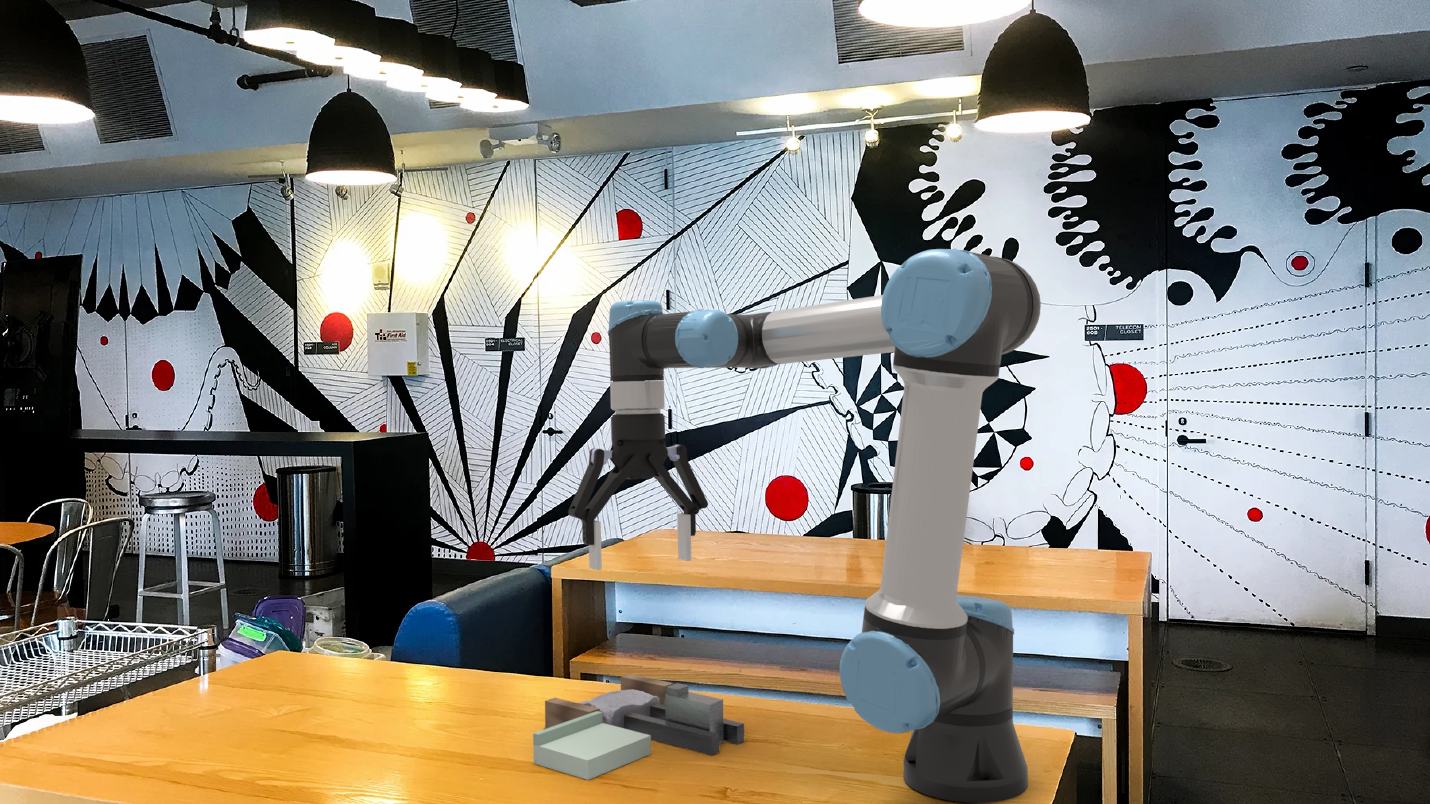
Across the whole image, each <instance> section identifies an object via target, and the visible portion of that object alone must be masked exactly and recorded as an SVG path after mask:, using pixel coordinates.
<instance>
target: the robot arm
mask: <svg viewBox="0 0 1430 804" xmlns="http://www.w3.org/2000/svg"><path fill="white" fill-rule="evenodd" d="M1041 305H1042V302H1041V295H1040V293H1039V289H1038V286H1037V284H1036V283H1035V281H1034V279H1033V277H1032V276H1031V275H1030V274H1029V273H1028V272H1027V271H1026V269H1024V268H1023V267H1022V266H1020V265H1019V264H1018V263H1016V262H1015V261H1011V260H1010V259H1008V258H1007V259H1006V258H1003V257H999V256H992V255H987V254H982V253H976V252H973V251H968V250H964V249H959V248H958V249H957V248H951V249H950V248H949V249H948V248H946V249H945V248H936V249H927V250H924V251H921V252H919V253H916V254H914V255H912V256H910V257H909V258H907V260H904V262H903V263H902V264H901V265H899V266H898V267H897V268H896V269H895V270H894V272H893V273H892V275H891V276H890V277H889V280H888V281H887V283H886V285H885V288H884V290H883V293H882V294H881V295H875V296H866V297H861V298H860V297H859V298H854V299H847V300H839V301H834V302H826V303H819V304H813V305H807V306H800V307H794V308H793V307H792V308H787V309H781V310H773V311H767V312H766V311H765V312H759V313H751V314H733V313H726V312H724V311H722V310H719V309H702V308H700V309H695V310H694V311H693V310H691V311H682V312H674V313H673V312H671V313H664V312H663V305H662V303H660V302H659V301H657V300H641V299H640V300H639V299H638V300H621V301H616V302H614V303H612V305H611V306H610V308H609V316H608V317H609V318H608V320H609V321H608V331H607V336H608V343H609V344H608V345H609V347H608V348H609V369H610V370H609V374H610V377H609V378H610V379H609V382H610V383H609V384H610V386H609V387H610V388H609V389H610V409H611V410H612V411H614V412H615V413H614V414H612V415H611V416H610V434H611V435H610V437H611V447H610V449H609V450H608V449H607V450H606V449H602V448H597V447H596V448H595V447H594V448H593V447H592V448H591V449H590V450H589V457H588V458H589V459H588V466H587V468H586V469H585V472H584V474H583V477H582V478H581V481H580V483H579V485H578V489H577V490H576V493H575V495H574V497H573V499H572V502H571V504H570V506H569V509H568V510H567V514H568V515H569V516H570V517H572V518H575V519H578V520H580V521H581V527H582V530H581V531H582V532H581V533H582V543H583V545H584V546H585V545H586V546H588V562H589V563H588V564H589V566H588V567H589V568H590V569H592V570H595V571H599V570H601V571H602V569H603V568H602V526H601V525H602V523H601V521H598V520H596V519H597V517H598V516H599V514H600V513H601V511H603V509H604V508H605V506H606V505H607V503H608V502H609V500H610V499H611V498H612V497H613V495H614V494H615V492H617V490H618V488H619V487H620V486H621V485H622V484H623V483H624V482H625V481H626V480H638V479H648V480H650V479H653V478H654V479H655V480H657V482H658V483H659V484H660V485H661V486H662V487H663V489H664V490H665V491H666V493H667V494H668V495H669V496H670V497H671V499H672V500H673V501H674V502H675V503H676V505H677V506H678V507H679V508H680V509H681V511H682V512H679V513H677V515H676V516H677V553H678V554H677V557H678V560H681V561H682V560H683V561H685V562H688V561H689V562H691V561H692V537H694V536H696V532H697V526H696V525H697V524H696V523H697V522H696V520H697V519H696V515H698V514H699V512H700V511H701V510H702V509H706V508H707V507H708V506H709V502H708V499H707V498H706V496H705V494H704V492H703V489H702V487H701V485H700V484H699V481H698V479H697V477H696V474H695V473H694V470H693V469H692V466H691V465H690V462H689V461H688V453H687V447H686V445H684V444H673V445H671V446H669V447H667V446H666V444H665V443H666V442H665V441H666V440H665V439H666V418H665V417H666V416H665V415H664V413H661V410H664V408H665V407H666V406H665V381H664V380H665V369H691V368H692V369H693V368H694V369H695V368H696V369H697V368H698V369H711V368H712V369H713V368H714V369H715V368H717V369H718V368H720V369H721V368H724V369H725V368H726V369H727V368H728V369H729V368H741V369H743V368H751V369H755V370H756V369H768V368H773V367H776V366H777V365H784V364H785V365H786V364H792V363H793V364H795V363H803V362H814V361H815V362H816V361H822V360H831V359H841V358H842V359H843V358H851V357H860V356H868V355H869V356H870V355H880V354H886V353H887V354H888V353H889V354H890V353H894V354H893V361H892V362H893V363H892V365H893V366H892V367H893V369H894V371H895V372H896V374H898V375H899V377H900V378H901V379H902V381H903V384H904V385H903V386H904V387H903V394H902V403H901V413H900V419H899V420H900V422H899V427H898V428H899V429H898V436H897V437H898V438H897V445H896V446H897V447H896V454H895V463H894V471H893V480H892V489H891V495H890V496H891V497H890V503H889V504H890V505H889V511H888V512H889V514H888V523H887V531H886V537H885V538H886V539H885V547H884V555H883V563H882V573H881V579H880V580H881V581H880V588H879V589H878V590H877V591H875V592H874V593H873V594H871V596H869V597H867V598H866V600H865V603H864V609H863V611H864V612H863V618H862V625H861V626H862V627H861V632H860V633H858V634H857V635H856V636H854V637H853V638H852V639H850V641H849V642H848V644H847V645H846V646H845V648H844V649H843V652H842V654H841V658H840V661H839V678H840V684H841V688H842V691H843V692H844V695H845V697H846V700H847V702H849V703H850V704H851V705H852V706H853V709H854V711H855V713H856V714H857V715H858V716H859V717H860V718H861V719H862V720H863V721H865V722H866V723H867V724H869V726H871V727H873V728H875V729H878V730H879V731H883V732H885V733H890V734H904V733H909V732H911V734H910V738H909V741H908V744H907V747H906V751H905V753H904V757H903V761H902V762H903V768H902V769H903V780H904V782H905V783H906V784H907V785H908V786H909V788H910V787H911V788H912V789H913V790H915V791H916V792H919V793H922V794H924V795H926V796H929V797H933V798H936V799H939V800H945V801H951V802H958V803H967V804H968V803H971V804H973V803H974V804H975V803H976V804H983V803H984V804H985V803H996V802H997V803H999V802H1003V801H1008V800H1011V799H1015V798H1017V797H1019V796H1021V795H1022V794H1024V793H1025V792H1026V791H1027V789H1028V786H1029V785H1028V784H1029V780H1028V779H1029V777H1028V775H1029V771H1028V764H1027V761H1026V758H1025V754H1024V752H1023V748H1022V746H1021V743H1020V740H1019V737H1018V734H1017V731H1016V727H1015V725H1014V715H1013V714H1014V712H1013V711H1014V710H1013V709H1014V708H1013V707H1014V706H1013V705H1014V685H1013V684H1014V635H1015V628H1014V627H1013V613H1012V609H1011V608H1010V606H1009V605H1008V604H1006V603H1005V602H1003V601H1001V600H997V599H994V598H988V597H981V596H971V595H962V594H958V586H959V579H960V572H961V564H962V556H963V549H964V540H965V533H966V525H967V524H966V523H967V515H968V509H969V502H970V501H969V500H970V492H971V487H972V486H971V485H972V477H973V472H974V471H973V469H974V468H973V467H974V464H975V461H974V460H975V454H976V447H977V445H976V444H977V439H978V437H977V436H978V432H979V431H978V430H979V424H980V423H979V421H980V416H981V415H980V414H981V407H982V400H983V392H984V391H985V390H986V389H988V387H990V386H991V385H993V384H994V383H995V382H996V381H997V380H999V376H1000V368H1001V361H1002V355H1005V354H1008V353H1011V352H1013V351H1015V350H1017V349H1018V348H1019V347H1021V346H1023V344H1025V343H1026V341H1027V340H1028V339H1030V337H1031V336H1032V335H1033V333H1034V331H1035V330H1036V327H1037V325H1038V323H1039V320H1040V316H1041V308H1042V307H1041ZM667 458H669V460H670V461H672V462H673V466H674V467H675V470H676V472H677V474H678V476H679V478H680V480H681V482H682V484H683V486H684V488H685V490H686V492H687V494H686V493H685V491H684V490H683V488H681V487H680V485H679V484H678V483H677V482H676V481H675V479H674V478H673V476H672V475H671V472H670V471H669V470H668V469H667V468H666V466H664V462H665V461H666V459H667ZM608 460H610V461H611V463H612V464H613V466H614V467H613V468H612V469H611V471H610V472H609V473H608V475H607V478H606V479H605V481H604V482H603V484H602V485H601V486H600V487H599V489H598V490H597V492H596V493H595V494H594V496H593V497H592V499H591V496H592V494H593V492H594V489H595V487H596V485H597V483H598V480H599V479H600V475H601V473H602V470H603V468H604V466H605V465H606V464H607V463H608Z"/></svg>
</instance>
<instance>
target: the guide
mask: <svg viewBox="0 0 1430 804" xmlns="http://www.w3.org/2000/svg"><path fill="white" fill-rule="evenodd" d="M624 729H628V730H632V731H636V732H639V733H643V734H647V735H651V741H654V742H655V741H656V742H658V743H659V742H660V743H663V744H667V745H671V746H674V747H678V748H682V749H685V750H689V751H694V752H697V753H701V754H705V755H707V756H708V755H709V756H714V755H717V754H718V753H720V744H719V734H718V733H714V732H709V731H705V730H701V729H697V728H693V727H689V726H685V725H681V724H677V723H673V722H669V721H665V705H663V704H659V703H656V704H653V705H651V706H650V717H648V716H644V715H640V714H636V713H632V712H631V713H629V714H626V715H624ZM723 733H724V742H726V743H730V744H734V745H739V744H742V743H743V742H745V723H743V722H739V721H736V720H731V719H726V718H723Z"/></svg>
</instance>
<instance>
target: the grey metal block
mask: <svg viewBox="0 0 1430 804" xmlns="http://www.w3.org/2000/svg"><path fill="white" fill-rule="evenodd" d="M723 719H724V699H722V698H718V697H713V696H709V695H705V694H700V693H696V692H690V691H689V685H687V684H682V683H678V682H677V683H673V685H671V686H668V687H667V694H666V695H665V721H669V722H673V723H677V724H681V725H685V726H689V727H693V728H697V729H701V730H705V731H709V732H714V733H718V734H719V745H721V744H723V743H724V742H725V741H724V733H723Z"/></svg>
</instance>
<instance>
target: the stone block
mask: <svg viewBox="0 0 1430 804" xmlns="http://www.w3.org/2000/svg"><path fill="white" fill-rule="evenodd" d="M578 703H579V704H583V705H587V706H591V707H595V708H599V709H600V712H602V723H605V724H608V725H612V726H616V727H620V728H624V715H626V714H629V713H631V712H632V713H636V714H640V715H644V716H648V717H650V706H651V705H653V704H656V703H659V704H660V701H659V698H658V697H657V696H652V695H650V694H648V693H645V692H643V691H638V690H634V689H631V690H621V689H620V690H614V691H609V692H607V693H604V694H600V695H597V696H595V697H594V698H592V699H590V700H585V701H584V700H583V701H581V702H578Z"/></svg>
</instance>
